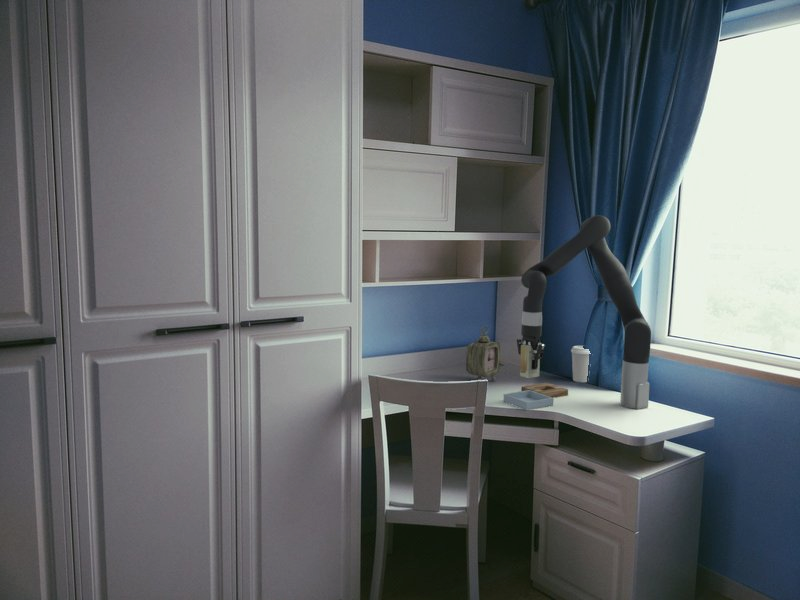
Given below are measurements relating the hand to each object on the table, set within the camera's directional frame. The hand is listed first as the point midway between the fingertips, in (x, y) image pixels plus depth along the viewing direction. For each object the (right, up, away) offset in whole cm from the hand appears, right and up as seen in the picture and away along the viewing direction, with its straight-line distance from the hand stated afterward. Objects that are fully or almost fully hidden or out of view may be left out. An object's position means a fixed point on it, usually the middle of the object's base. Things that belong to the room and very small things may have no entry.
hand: (529, 367), depth 236 cm
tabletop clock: (-14, -10, +34) cm, 38 cm away
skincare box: (0, -4, 0) cm, 3 cm away
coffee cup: (+31, -10, +41) cm, 52 cm away
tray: (0, -14, +1) cm, 14 cm away
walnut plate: (+9, -12, +16) cm, 23 cm away
